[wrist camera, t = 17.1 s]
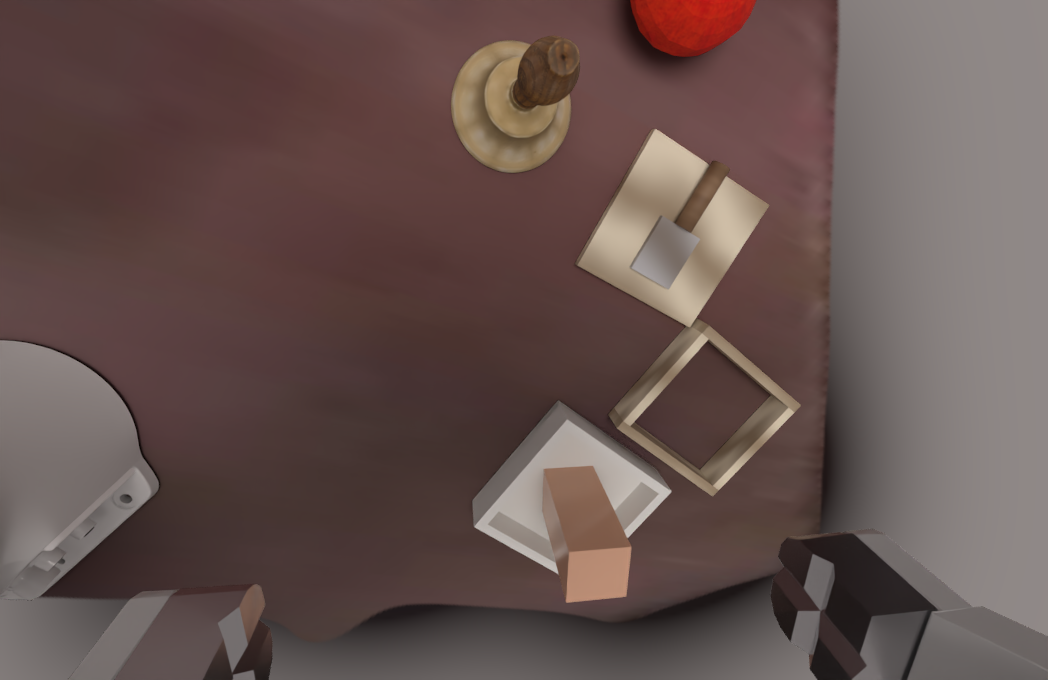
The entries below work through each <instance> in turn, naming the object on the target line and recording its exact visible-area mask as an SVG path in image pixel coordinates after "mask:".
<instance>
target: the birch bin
mask: <svg viewBox="0 0 1048 680" xmlns="http://www.w3.org/2000/svg"><path fill="white" fill-rule="evenodd" d="M707 341H708V342H709V343H711V344H712V345H713V346H714V347H715V348H716V349H718V350H719V351H720V352H721V353H722V354H723V355H725V356H726V357H727V358H728V359H729V360H730V361H732V362H733V363H734V364H735V365H736V366H737V367H739V368H740V369H741V370H742V371H743V372H744V373H746V374H747V375H748V376H749V377H750V378H752V379H753V380H754V381H755V382H756V383H757V384H759V385H760V386H761V387H762V388H763V389H764V390H766V391H767V392H768V393H769V394H770V395H771V396H770V397H769V398H768V399H767V400H766V401H765V402H764V403H763V404H762V405H761V406H760V407H759V408H758V409H757V410H756V411H755V412H754V413H753V415H752V416H751V417H750V418H749V419H748V420H747V421H746V422H745V423H744V424H743V425H742V426H741V427H740V428H739V429H738V430H737V431H736V432H735V433H734V434H733V435H732V437H731V438H730V439H729V440H728V441H727V442H726V443H725V444H724V445H723V446H722V447H721V448H720V449H719V450H718V451H717V452H716V453H715V454H714V455H713V456H712V457H711V459H710V460H709V461H708V462H707V463H706V464H705V465H704V466H703V467H702V468H701V469H700V470H699V469H698V468H696V467H695V466H694V465H692V464H691V463H689V462H688V461H687V460H685V459H684V458H683V457H681V456H680V455H678V454H677V453H676V452H674V451H673V450H672V449H670V448H669V447H668V446H666V445H665V444H663V443H662V442H661V441H659V440H658V439H657V438H655V437H654V436H652V435H651V434H650V433H648V432H647V431H646V430H644V429H643V428H641V427H640V426H639V425H637V424H636V423H635V422H634V421H635V420H636V419H637V418H638V417H639V416H640V415H641V414H642V413H643V412H644V410H645V409H646V408H647V407H648V406H649V405H650V404H651V403H652V402H653V400H654V399H655V398H656V397H657V396H658V395H659V394H660V393H661V392H662V390H663V389H664V388H665V387H666V386H667V385H668V384H669V383H670V382H671V380H672V379H673V378H674V377H675V376H676V375H677V374H678V373H679V372H680V370H681V369H682V368H683V367H684V366H685V365H686V364H687V363H688V362H689V360H690V359H691V358H692V357H693V356H694V355H695V354H696V353H697V352H698V350H699V349H700V348H701V347H702V346H703V345H704V344H705V343H706V342H707ZM800 406H801V405H800V404H799V403H798V402H796V401H795V400H794V399H793V398H792V397H791V396H790V395H788V394H787V393H786V392H785V391H784V390H783V389H781V388H780V387H779V386H778V385H777V384H776V383H775V382H773V381H772V380H771V379H770V378H769V377H768V376H767V375H765V374H764V373H763V372H762V371H761V370H760V369H758V368H757V367H756V366H755V365H754V364H753V363H752V362H750V361H749V360H748V359H747V358H746V357H745V356H744V355H742V354H741V353H740V352H739V351H738V350H737V349H735V348H734V347H733V346H732V345H731V344H730V343H729V342H727V341H726V340H725V339H724V338H723V337H722V336H721V335H719V334H718V333H717V332H716V331H715V330H714V329H713V328H711V327H710V326H709V325H707V324H706V323H704V322H702V321H701V320H699V319H697V318H696V319H695V320H694V322H693V324H692V325H691V327H688V326H686V327H685V328H684V329H683V330H682V331H681V332H680V334H679V335H678V336H677V337H676V338H675V339H674V340H673V342H672V343H671V344H670V345H669V346H668V347H667V348H666V349H665V351H664V352H663V353H662V354H661V355H660V356H659V357H658V358H657V360H656V361H655V362H654V363H653V364H652V365H651V366H650V367H649V369H648V370H647V371H646V372H645V373H644V374H643V375H642V377H641V378H640V379H639V380H638V381H637V382H636V383H635V384H634V386H633V387H632V388H631V389H630V390H629V391H628V392H627V393H626V395H625V396H624V397H623V398H622V399H621V400H620V401H619V402H618V404H617V405H616V406H615V407H614V408H613V409H612V410H611V411H610V413H609V414H608V415H609V417H610V418H611V420H612V421H613V423H614V425H615V426H616V428H617V429H619V430H620V431H621V432H623V433H624V434H626V435H627V436H628V437H630V438H631V439H633V440H634V441H635V442H637V443H638V444H640V445H641V446H642V447H644V448H645V449H647V450H648V451H649V452H651V453H652V454H654V455H655V456H656V457H658V458H659V459H661V460H662V461H663V462H665V463H666V464H668V465H669V466H670V467H672V468H673V469H675V470H676V471H677V472H679V473H680V474H682V475H683V476H684V477H686V478H687V479H689V480H690V481H692V482H693V483H694V484H696V485H697V486H699V487H700V488H701V489H703V490H704V491H706V492H707V493H708V494H710V495H711V496H714V494H715V493H716V492H717V491H718V490H719V489H720V488H721V487H722V486H723V485H724V484H725V483H726V482H727V481H728V480H729V479H730V478H731V477H732V476H733V475H734V474H735V473H736V472H737V471H738V470H739V469H740V468H741V467H742V466H743V465H744V464H745V463H746V462H747V461H748V460H749V459H750V457H751V456H752V455H753V454H754V453H755V452H756V451H757V450H758V449H759V448H760V447H761V446H762V445H763V444H764V443H765V442H766V441H767V440H768V439H769V438H770V437H771V436H772V435H773V434H774V433H775V432H776V431H777V430H778V429H779V428H780V427H781V426H782V425H783V424H784V423H785V421H786V420H787V419H788V418H789V417H790V416H791V415H792V414H793V413H794V412H795V411H796V410H797V409H798V408H799V407H800Z"/></svg>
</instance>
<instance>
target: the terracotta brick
mask: <svg viewBox="0 0 1048 680" xmlns="http://www.w3.org/2000/svg"><path fill="white" fill-rule="evenodd" d="M542 512H543V516H544V520H545V524H546V528H547V531H548V535H549V539H550V543H551V547H552V551H553V554H554V558H555V562H556V566H557V570H558V574H559V577H560V581H561V585H562V589H563V593H564V596H565V600H566V603H567V602H577V601H587V600H597V599H607V598H617V597H626V593H627V584H628V575H629V565H630V556H631V545H630V543H629V541H628V538H627V536H626V534H625V532H624V530H623V528H622V526H621V524H620V522H619V519H618V517H617V515H616V513H615V511H614V509H613V507H612V505H611V503H610V501H609V498H608V496H607V494H606V492H605V490H604V488H603V486H602V484H601V482H600V480H599V477H598V475H597V473H596V471H595V469H594V467H593V466H580V467H564V468H548V469H544V473H543V502H542Z"/></svg>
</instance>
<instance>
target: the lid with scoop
mask: <svg viewBox="0 0 1048 680" xmlns="http://www.w3.org/2000/svg"><path fill="white" fill-rule="evenodd" d="M729 171H730V169H729V168H728V167H727V166H726V165H724V164H722V163H720V162H717V161H712V163H711V165H709V164H707V163H706V162H704V161H703V160H701V159H700V158H698V157H697V156H695V155H694V154H692V153H691V152H689V151H688V150H686V149H685V148H683V147H682V146H680V145H679V144H678V143H676V142H675V141H673V140H672V139H670V138H669V137H667V136H666V135H664V134H663V133H661V132H660V131H658V130H657V129H652V130H651V131H650V133H649V134H648V136H647V138H646V140H645V141H644V143H643V145H642V147H641V148H640V150H639V152H638V154H637V155H636V157H635V159H634V161H633V162H632V164H631V166H630V168H629V169H628V171H627V173H626V175H625V176H624V178H623V180H622V182H621V184H620V185H619V187H618V189H617V191H616V192H615V194H614V196H613V198H612V199H611V201H610V203H609V205H608V206H607V208H606V210H605V212H604V213H603V215H602V217H601V219H600V220H599V222H598V224H597V226H596V227H595V229H594V231H593V233H592V234H591V236H590V238H589V240H588V241H587V243H586V245H585V247H584V248H583V250H582V252H581V254H580V255H579V257H578V259H577V261H576V262H575V264H576V265H577V266H579V267H581V268H583V269H584V270H586V271H588V272H590V273H592V274H594V275H595V276H597V277H599V278H601V279H603V280H604V281H606V282H608V283H610V284H612V285H613V286H615V287H617V288H619V289H621V290H623V291H624V292H626V293H628V294H630V295H632V296H633V297H635V298H637V299H639V300H641V301H643V302H644V303H646V304H648V305H650V306H652V307H653V308H655V309H657V310H659V311H661V312H662V313H664V314H666V315H668V316H670V317H672V318H673V319H675V320H677V321H679V322H681V323H682V324H684V325H686V326H688V327H691V325H692V324H693V322H694V320H695V319H696V317H697V316H698V314H699V313H700V311H701V310H702V308H703V307H704V305H705V304H706V302H707V300H708V299H709V297H710V296H711V294H712V293H713V291H714V290H715V288H716V287H717V285H718V284H719V282H720V280H721V279H722V277H723V276H724V274H725V273H726V271H727V270H728V268H729V267H730V265H731V263H732V262H733V260H734V259H735V257H736V256H737V254H738V253H739V251H740V250H741V248H742V247H743V245H744V243H745V242H746V240H747V239H748V237H749V236H750V234H751V233H752V231H753V230H754V228H755V227H756V225H757V223H758V222H759V220H760V219H761V217H762V216H763V214H764V213H765V211H766V210H767V208H768V207H769V205H768V204H766V203H765V202H764V201H762V200H761V199H759V198H758V197H756V196H755V195H753V194H752V193H750V192H749V191H747V190H746V189H744V188H743V187H741V186H740V185H738V184H737V183H735V182H734V181H732V180H731V179H729V178H728V177H726V176H727V174H728V172H729Z"/></svg>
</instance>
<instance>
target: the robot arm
mask: <svg viewBox="0 0 1048 680" xmlns="http://www.w3.org/2000/svg"><path fill="white" fill-rule="evenodd" d="M158 488H159V483H158V480H157V478H156V476H155V474H154V473H153V471H152V470H151V468H150V467H149V465H148V464H147V463H146V461H145V460H144V459H143V457H142V455H141V452H140V448H139V443H138V437H137V432H136V428H135V425H134V422H133V419H132V417H131V415H130V413H129V411H128V409H127V407H126V405H125V404H124V402H123V401H122V399H121V398H120V397H119V395H118V394H117V393H116V392H115V391H114V389H113V388H112V387H111V386H110V385H109V384H108V383H107V382H106V381H104V380H103V379H102V378H101V377H100V376H99V375H97V374H96V373H95V372H93V371H92V370H91V369H89V368H88V367H86V366H85V365H83V364H81V363H80V362H78V361H76V360H74V359H72V358H70V357H68V356H66V355H64V354H62V353H59V352H57V351H54V350H52V349H49V348H45V347H42V346H38V345H34V344H30V343H25V342H17V341H6V340H0V599H8V600H31V601H32V600H33V599H35V598H38V597H39V596H41V595H42V594H43V593H44V592H46V591H47V590H48V589H49V588H50V587H51V586H53V585H54V584H55V583H56V582H57V581H58V580H59V579H61V578H62V577H63V576H64V575H65V574H66V573H67V572H68V571H70V570H71V569H72V568H73V567H74V566H75V565H76V564H77V563H78V562H80V561H81V560H82V559H83V558H84V557H85V556H86V555H87V554H89V553H90V552H91V551H92V550H93V549H94V548H95V547H96V546H98V545H99V544H100V543H101V542H102V541H103V540H104V539H105V538H106V537H108V536H109V535H110V534H111V533H112V532H113V531H114V530H115V529H117V528H118V527H119V526H120V525H121V524H122V523H123V522H124V521H125V520H127V519H128V518H129V517H130V516H131V515H132V514H133V513H134V512H136V511H137V510H138V509H139V508H140V507H141V506H142V505H143V504H145V503H146V502H147V501H148V500H149V499H150V498H151V497H152V496H153V495H155V494H156V492H157V491H158ZM126 494H128V495H130V496H131V497H132V498H130V497H128V496H127V495H126ZM778 558H779V559H780V561H781V563H782V564H783V566H784V568H783V569H782V570H781V571H780V572H779V573H778V574H777V575H776V576H775V577H774V579H773V582H772V588H771V594H770V597H771V602H772V607H773V612H774V615H775V617H776V619H777V621H778V624H779V626H780V628H781V629H782V631H783V632H784V634H785V635H786V636H787V638H788V639H789V641H790V642H791V643H793V644H794V645H796V646H797V647H799V648H800V649H802V650H803V651H805V652H806V653H808V654H809V663H810V670H811V671H812V673H813V674H814V676H815V677H816V678H817V680H1048V636H1046V635H1044V634H1042V633H1039V632H1037V631H1035V630H1033V629H1031V628H1029V627H1026V626H1024V625H1022V624H1020V623H1018V622H1015V621H1013V620H1011V619H1009V618H1007V617H1005V616H1002V615H1000V614H998V613H996V612H994V611H991V610H989V609H987V608H985V607H983V606H981V607H972V606H971V605H970V604H968V603H967V602H966V601H965V600H964V599H963V598H961V597H960V596H959V595H958V594H956V593H955V592H954V591H953V590H952V589H951V588H949V587H948V586H947V585H946V584H945V583H943V582H942V581H941V580H940V579H938V578H937V577H936V576H935V575H934V574H933V573H931V572H930V571H929V570H928V569H927V568H925V567H924V566H923V565H922V564H921V563H919V562H918V561H917V560H916V559H915V558H913V557H912V556H911V555H910V554H908V553H907V552H906V551H905V550H904V549H902V548H901V547H900V546H899V545H898V544H897V543H895V542H894V541H893V540H892V539H890V538H889V537H888V536H887V535H886V534H884V533H882V532H880V531H877V530H875V529H864V530H854V531H845V532H842V533H840V532H837V533H828V534H816V535H806V536H796V537H787V538H786V539H785V540H784V542H783V543H782V544H781V547H780V551H779V555H778ZM264 606H265V601H264V597H263V593H262V589H261V586H259V585H256V584H244V585H228V586H212V587H196V588H181V589H180V590H163V591H144V592H141V593H139V594H137V595H136V596H134V597H133V598H131V599H130V600H129V601H128V602H127V603H126V604H125V606H124V607H123V608H122V610H121V611H120V612H119V614H118V615H117V616H116V618H115V619H114V620H113V622H112V623H111V624H110V625H109V627H108V628H107V629H106V631H105V632H104V633H103V635H102V636H101V637H100V638H99V640H98V641H97V642H96V644H95V645H94V646H93V647H92V649H91V650H90V651H89V653H88V654H87V656H86V657H85V658H84V659H83V661H82V662H81V663H80V664H79V666H78V667H77V668H76V670H75V671H74V672H73V674H72V675H71V676H70V677H69V679H68V680H269V675H270V669H271V663H272V637H271V631H270V628H269V627H268V626H266V625H265V624H264V623H263V622H262V621H260V620H259V618H260V615H261V613H262V611H263V608H264Z"/></svg>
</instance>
